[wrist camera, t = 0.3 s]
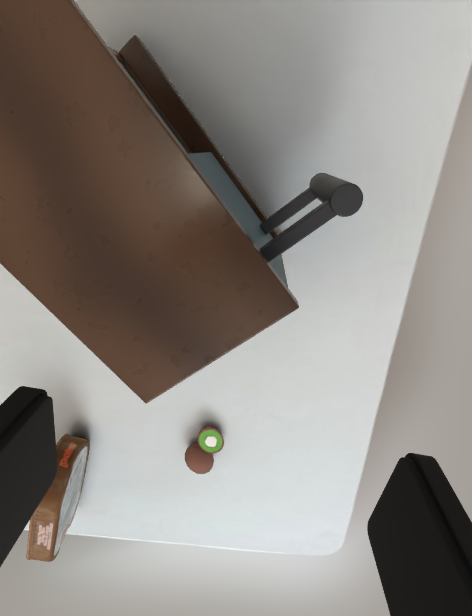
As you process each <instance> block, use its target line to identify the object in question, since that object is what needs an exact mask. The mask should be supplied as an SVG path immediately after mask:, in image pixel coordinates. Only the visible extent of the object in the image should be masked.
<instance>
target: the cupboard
mask: <svg viewBox="0 0 472 616" xmlns="http://www.w3.org/2000/svg"><path fill="white" fill-rule="evenodd" d="M205 152H211V153H212V154H213V155H214V157H215V158H216V160H217V161H218V162H219V164H220V165H221V166H222V168H223V169H224V171H225V172H226V173H227V175H228V176H229V178H230V179H231V180H232V182H233V183H234V185H235V186H236V187H237V189H238V190H239V191H240V193H241V194H242V196H243V197H244V198H245V200H246V201H247V203H248V204H249V205H250V207H251V208H252V209H253V211H254V212H255V214H256V215H257V216H258V218H259V219H260V221H261V222H263V221H265V220H266V219H267V218H266V216H265V215H264V213H263V212H262V211H261V209H260V208H259V206H258V205H257V204H256V202H255V201H254V199H253V198H252V197H251V195H250V194H249V192H248V191H247V190H246V188H245V187H244V185H243V184H242V183H241V181H240V180H239V178H238V177H237V176H236V174H235V173H234V171H233V170H232V169H231V167H230V166H229V164H228V163H227V162H226V160H225V159H224V157H223V156H222V154H221V153H220V152H219V150H218V149H217V147H216V146H215V145H214V143H213V142H212V140H211V139H210V138H209V136H208V135H207V133H206V132H205V131H204V129H203V128H202V126H201V125H200V124H199V122H198V121H197V119H196V118H195V117H194V115H193V114H192V112H191V111H190V110H189V108H188V107H187V105H186V104H185V103H184V101H183V100H182V98H181V97H180V95H179V94H178V93H177V91H176V90H175V88H174V87H173V86H172V84H171V83H170V81H169V80H168V79H167V77H166V76H165V74H164V73H163V72H162V70H161V69H160V67H159V66H158V65H157V63H156V62H155V60H154V59H153V58H152V56H151V55H150V53H149V52H148V51H147V49H146V48H145V46H144V45H143V44H142V42H141V41H140V39H139V38H138V37H137V36H136V35H134V36H133V37H132V38H131V39H130V41H129V42H128V43H127V44H126V45H125V46H124V47H123V48H122V49H121V50H120V51H119V53H118V52H116V51H115V50H113V49H112V48H110V47H109V46H107V44H106V43H105V42H104V40H103V39H102V38H101V36H100V35H99V34H98V32H97V31H96V30H95V28H94V27H93V26H92V24H91V23H90V21H89V20H88V19H87V17H86V16H85V15H84V13H83V12H82V11H81V9H80V8H79V7H78V5H77V4H76V3H75V1H74V0H0V263H1V264H2V265H3V266H4V267H5V268H6V269H7V270H8V271H9V272H10V273H11V274H12V275H13V276H14V277H15V278H16V279H17V280H18V281H19V282H20V283H21V284H22V285H23V286H24V287H26V288H27V289H28V290H29V291H30V292H31V293H32V294H33V295H34V296H35V297H36V298H37V299H38V300H39V301H40V302H41V303H42V304H43V305H44V306H45V307H46V308H47V309H48V310H49V311H50V312H51V313H52V314H54V315H55V316H56V317H57V318H58V319H59V320H60V321H61V322H62V323H63V324H64V325H65V326H66V327H67V328H68V329H69V330H70V331H71V332H72V333H73V334H74V335H75V336H76V337H77V338H78V339H79V340H80V341H82V342H83V343H84V344H85V345H86V346H87V347H88V348H89V349H90V350H91V351H92V352H93V353H94V354H95V355H96V356H97V357H98V358H99V359H100V360H101V361H102V362H103V363H104V364H105V365H106V366H107V367H109V368H110V369H111V370H112V371H113V372H114V373H115V374H116V375H117V376H118V377H119V378H120V379H121V380H122V381H123V382H124V383H125V384H126V385H127V386H128V387H129V388H130V389H131V390H132V391H133V392H134V393H135V394H137V395H138V396H139V397H140V398H141V399H142V400H143V401H144V402H145V403H148V402H150V401H151V400H153V399H155V398H156V397H158V396H159V395H161V394H162V393H164V392H166V391H167V390H169V389H170V388H172V387H174V386H175V385H177V384H178V383H180V382H182V381H183V380H185V379H186V378H188V377H190V376H191V375H193V374H194V373H196V372H197V371H199V370H201V369H202V368H204V367H205V366H207V365H209V364H210V363H212V362H213V361H215V360H217V359H218V358H220V357H221V356H223V355H225V354H226V353H228V352H229V351H231V350H232V349H234V348H236V347H237V346H239V345H240V344H242V343H244V342H245V341H247V340H248V339H250V338H252V337H253V336H255V335H256V334H258V333H260V332H261V331H263V330H264V329H266V328H267V327H269V326H271V325H272V324H274V323H275V322H277V321H279V320H280V319H282V318H283V317H285V316H287V315H288V314H290V313H291V312H293V311H295V310H296V309H298V308H299V305H298V301H297V300H296V298H295V297H294V296H293V294H292V293H291V292H290V290H289V289H288V288H287V286H286V285H285V284H284V282H283V281H282V279H281V278H280V277H279V275H278V274H277V273H276V271H275V270H274V269H273V267H272V266H271V265H270V263H269V262H268V261H267V259H266V258H265V257H264V255H263V254H262V253H261V251H260V250H259V249H258V247H257V246H256V245H255V243H254V242H253V241H252V239H251V238H250V236H249V235H248V234H247V232H246V231H245V230H244V228H243V227H242V226H241V224H240V223H239V222H238V220H237V219H236V218H235V216H234V215H233V214H232V212H231V211H230V210H229V208H228V207H227V206H226V204H225V203H224V202H223V200H222V199H221V198H220V196H219V195H218V193H217V192H216V191H215V189H214V188H213V187H212V185H211V184H210V183H209V181H208V180H207V179H206V177H205V176H204V175H203V173H202V172H201V171H200V169H199V168H198V167H197V165H196V164H195V163H194V161H193V160H192V159H191V157H190V156H189V155H188V154H189V153H205ZM269 233H270V234H271V236H272V237H273V238H275V237H276V236H277V235H278V233H277V232H276V230H275V229H274V230H272V231H271V232H269Z"/></svg>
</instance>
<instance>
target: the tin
mask: <svg viewBox="0 0 472 616" xmlns="http://www.w3.org/2000/svg"><path fill="white" fill-rule="evenodd" d="M56 454H57V473H56V477H55V479H54V481H53V483H52V485H51V486H50V488H49V489H48V491H47V493H46V494H45V496H44V497H43V499H42V501H41V502H40V504H39V505H38V507H37V509H36V510H35V512H34V514H33V515H32V517H31V518H30V525H29V535H28V544H27V554H26V557H27V559H28V560H30V559H34V560H40V561H48V562H50V561H53V560H54V559H55V558H56V556H57V554H58V552H59V549H60V545H61V542H62V540H63V538H64V536H65V534H66V531H67V529H68V528H69V526H70V524H71V522H72V520H73V517H74V514H75V511H76V508H77V505H78V502H79V499H80V495H81V490H82V485H83V480H84V476H85V470H86V465H87V459H88V454H89V441H88V440H86V439H83V438H78V437H74V436H70V435H69V434H65V435H64V436H63V437H62V438H61V439H60V440H59V442H58V443H57V445H56Z"/></svg>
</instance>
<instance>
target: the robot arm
mask: <svg viewBox="0 0 472 616" xmlns="http://www.w3.org/2000/svg"><path fill="white" fill-rule="evenodd" d="M56 473H57V454H56V440H55V427H54V414H53V401H52V398H51V397H49V396H47V392H46V391H45V390H42V389H37V388H31V387H25V386H21V387H19V388H18V389H16V390H15V391H14V392H13V393H12V394H11V395H10V396H9V397H8V398H7V399H6V400H5V401H4V402H3V403H2V404H1V405H0V567H1V565H2V563H3V561H4V560H5V559H6V557H7V555H8V554H9V552H10V551H11V549H12V547H13V545H14V544H15V542H16V541H17V539H18V538H19V536H20V534H21V533H22V531H23V530H24V528H25V526H26V525H27V523H28V522H29V520H30V518H31V517H32V515H33V514H34V512H35V510H36V509H37V507H38V505H39V504H40V502H41V501H42V499H43V497H44V496H45V494H46V493H47V491H48V489H49V488H50V486H51V485H52V483H53V481H54V479H55V477H56ZM368 536H369V540H370V543H371V547H372V551H373V554H374V557H375V561H376V565H377V569H378V572H379V575H380V579H381V583H382V586H383V590H384V594H385V597H386V600H387V604H388V608H389V611H390V615H391V616H472V522H471V521H470V519H469V517H468V515H467V514H466V512H465V510H464V508H463V506H462V505H461V503H460V501H459V499H458V498H457V496H456V494H455V492H454V491H453V489H452V487H451V485H450V484H449V482H448V480H447V478H446V477H445V475H444V473H443V471H442V469H441V468H440V466H439V464H438V462H437V461H436V460H435V458H433V457H431V456H425V455H419V454H414V453H408V454H407V455H406V456H405V458H403V457H402V458H400V459H399V461H398V463H397V465H396V467H395V469H394V471H393V473H392V475H391V477H390V479H389V481H388V483H387V485H386V487H385V489H384V491H383V493H382V495H381V497H380V499H379V501H378V503H377V505H376V507H375V509H374V511H373V513H372V515H371V517H370V519H369V521H368Z"/></svg>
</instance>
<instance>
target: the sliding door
mask: <svg viewBox="0 0 472 616" xmlns="http://www.w3.org/2000/svg"><path fill="white" fill-rule="evenodd" d="M188 155H189V156H190V157H191V159H192V160H193V161H194V163H195V164H196V165H197V167H198V168H199V169H200V171H201V172H202V173H203V175H204V176H205V177H206V179H207V180H208V181H209V183H210V184H211V185H212V187H213V188H214V189H215V191H216V192H217V193H218V195H219V196H220V198H221V199H222V200H223V202H224V203H225V204H226V206H227V207H228V208H229V210H230V211H231V212H232V214H233V215H234V216H235V218H236V219H237V220H238V222H239V223H240V224H241V226H242V227H243V228H244V230H245V231H246V232H247V234H248V235H249V236H250V238H251V239H252V241H253V242H254V243H255V245H256V246H257V247H258V249H259V250H260V251H261V253H262V254H263V255H264V257H265V258H266V259H267V261H268V262H269V263H270V265H271V266H272V267H273V269H274V270H275V271H276V273H277V274H278V275H279V277H280V278H281V279H282V281H283V282H284V284H285V285H286V286H287V288H288V285H287V280H286V275H285V270H284V265H283V260H282V255H281V253H283V252H284V251H286V250H287V249H289V248H290V247H292V246H293V245H294V244H296V243H297V242H299V241H300V240H302V239H303V238H304V237H306V236H307V235H309V234H310V233H312V232H313V231H315V230H316V229H317V228H319V227H320V226H322V225H323V224H325V223H326V222H327V221H329V220H330V219H332V218H333V217H335V216H336V215H339V216H342V217H347V216H351V215H353V214H354V213H356V212H357V211H358V210H359V209H360V207H361V205H362V202H363V194H362V191H361V189H360V188H359V187H358V186H357V185H355V184H352V183H350V182H347V181H344V180H342V179H339V178H336V177H334V176H331V175H328V174H326V173H319V174H316V175H315V176H314V177H313V178H312V179H311V181H310V187H309V188H308V189H307V190H305V191H304V192H303V193H301V194H300V195H298V196H297V197H296V198H294V199H293V200H292V201H290V202H289V203H288V204H286V205H285V206H284V207H282V208H281V209H280V210H278V211H277V212H276V213H274V214H273V215H272V216H270V217H269V218H267V219H266V220H265V221H263V222H261V221H260V219H259V218H258V216H257V215H256V214H255V212H254V211H253V209H252V208H251V207H250V205H249V204H248V203H247V201H246V200H245V198H244V197H243V196H242V194H241V193H240V191H239V190H238V189H237V187H236V186H235V185H234V183H233V182H232V180H231V179H230V178H229V176H228V175H227V173H226V172H225V171H224V169H223V168H222V166H221V165H220V164H219V162H218V161H217V160H216V158H215V157H214V155H213V154H212V153H211V152H205V153H189V154H188ZM316 198H318V199H319V200H320V201H321V202H322V204H321V205H319V206H318V207H316V208H315V209H314V210H312V211H311V212H310V213H308V214H307V215H305V216H304V217H303V218H301V219H300V220H298V221H297V222H296V223H294V224H293V225H291V226H290V227H289V228H287V229H286V230H284V231H283V232H282V233H280V234H279V235H277V236H276V237H275V238H273V237H272V236H271V234H270V233H269V232H271V231H272V230H274V229H275V228H276V227H278V226H279V225H280V224H282V223H283V222H285V221H286V220H287V219H289V218H290V217H291V216H293V215H294V214H296V213H297V212H298V211H300V210H301V209H302V208H304V207H305V206H307V205H308V204H309V203H311V202H312V201H313V200H315V199H316Z"/></svg>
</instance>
